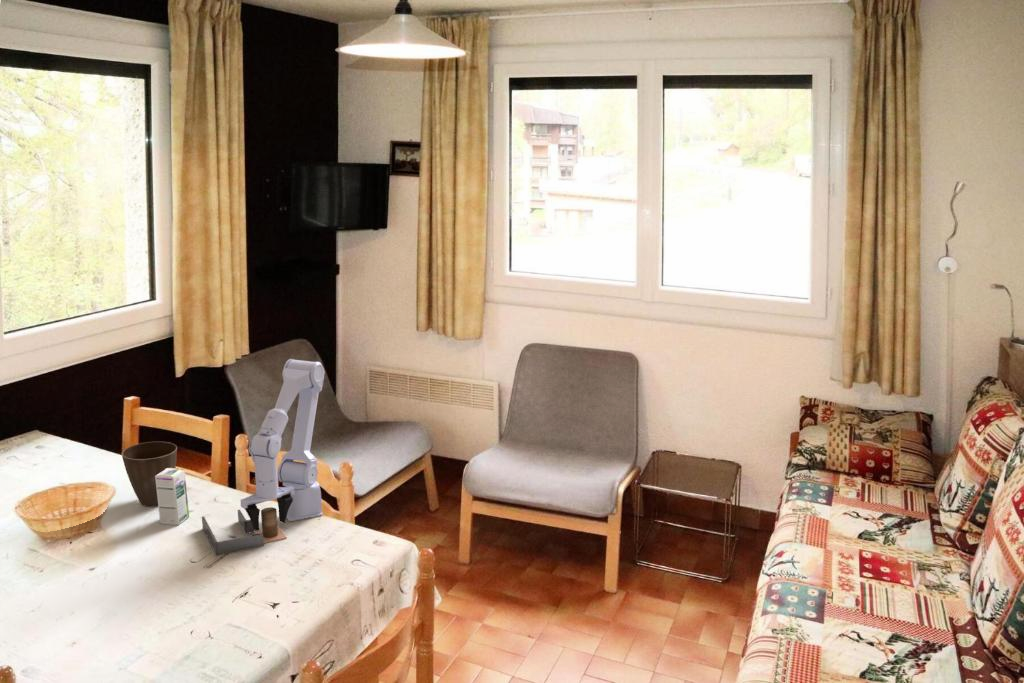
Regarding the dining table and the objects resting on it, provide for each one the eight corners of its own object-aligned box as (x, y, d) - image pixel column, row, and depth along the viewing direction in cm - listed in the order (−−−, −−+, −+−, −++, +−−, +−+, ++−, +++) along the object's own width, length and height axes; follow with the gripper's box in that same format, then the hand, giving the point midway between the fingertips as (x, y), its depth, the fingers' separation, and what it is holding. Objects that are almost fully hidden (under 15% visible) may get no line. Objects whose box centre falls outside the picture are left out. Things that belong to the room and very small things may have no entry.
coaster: (279, 528, 257) (279, 527, 257) (286, 538, 251) (286, 537, 251) (253, 533, 254) (253, 532, 254) (260, 544, 248) (260, 542, 248)
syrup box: (178, 525, 258) (174, 476, 255) (159, 523, 259) (154, 474, 256) (189, 517, 264) (185, 468, 260) (170, 515, 265) (166, 467, 261)
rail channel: (247, 519, 262) (246, 508, 261) (263, 546, 247) (263, 533, 246) (202, 528, 257) (201, 516, 256) (216, 555, 241) (215, 543, 240)
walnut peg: (280, 535, 252) (279, 510, 250) (266, 539, 250) (265, 515, 248) (273, 530, 255) (272, 506, 253) (259, 534, 253) (258, 510, 251)
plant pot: (118, 500, 274) (113, 449, 270) (168, 487, 284) (164, 437, 280) (138, 517, 264) (133, 463, 260) (190, 502, 273) (185, 450, 269)
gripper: (284, 467, 256) (287, 513, 259) (234, 480, 247) (237, 528, 250) (297, 474, 251) (299, 521, 254) (246, 488, 242) (249, 537, 245)
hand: (269, 525), depth 252 cm, fingers open, 7 cm apart
